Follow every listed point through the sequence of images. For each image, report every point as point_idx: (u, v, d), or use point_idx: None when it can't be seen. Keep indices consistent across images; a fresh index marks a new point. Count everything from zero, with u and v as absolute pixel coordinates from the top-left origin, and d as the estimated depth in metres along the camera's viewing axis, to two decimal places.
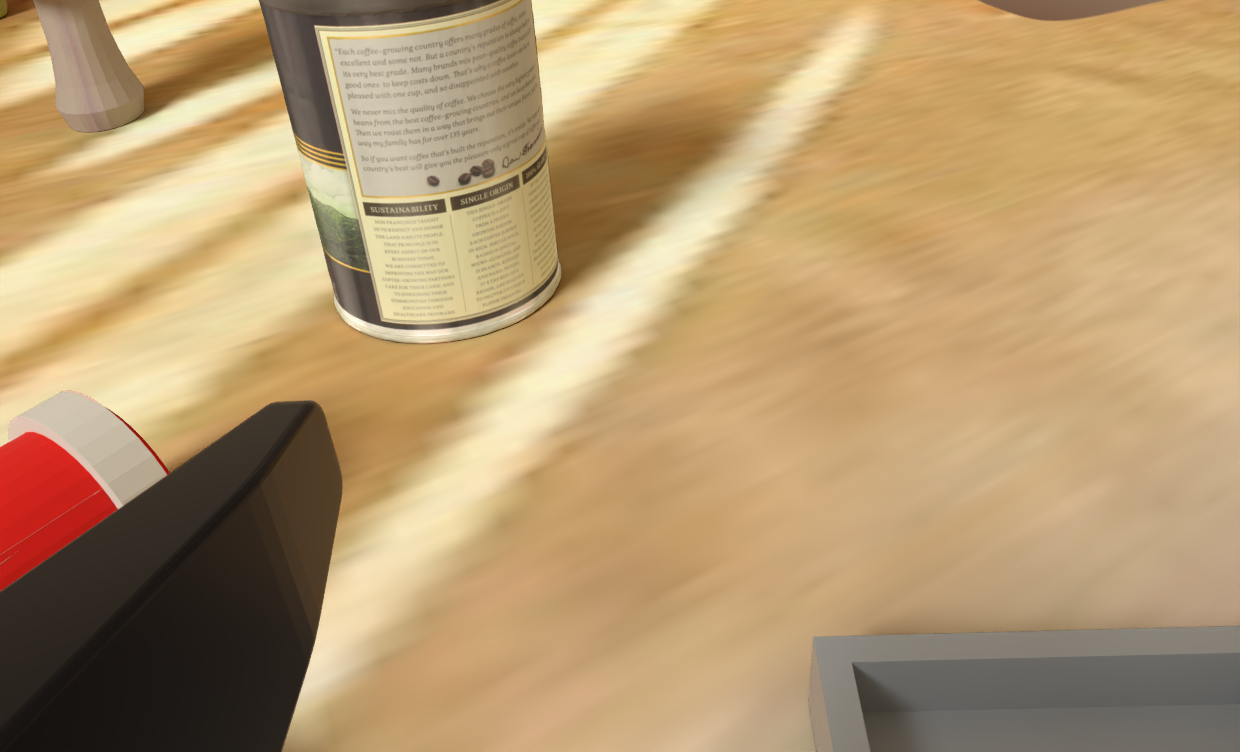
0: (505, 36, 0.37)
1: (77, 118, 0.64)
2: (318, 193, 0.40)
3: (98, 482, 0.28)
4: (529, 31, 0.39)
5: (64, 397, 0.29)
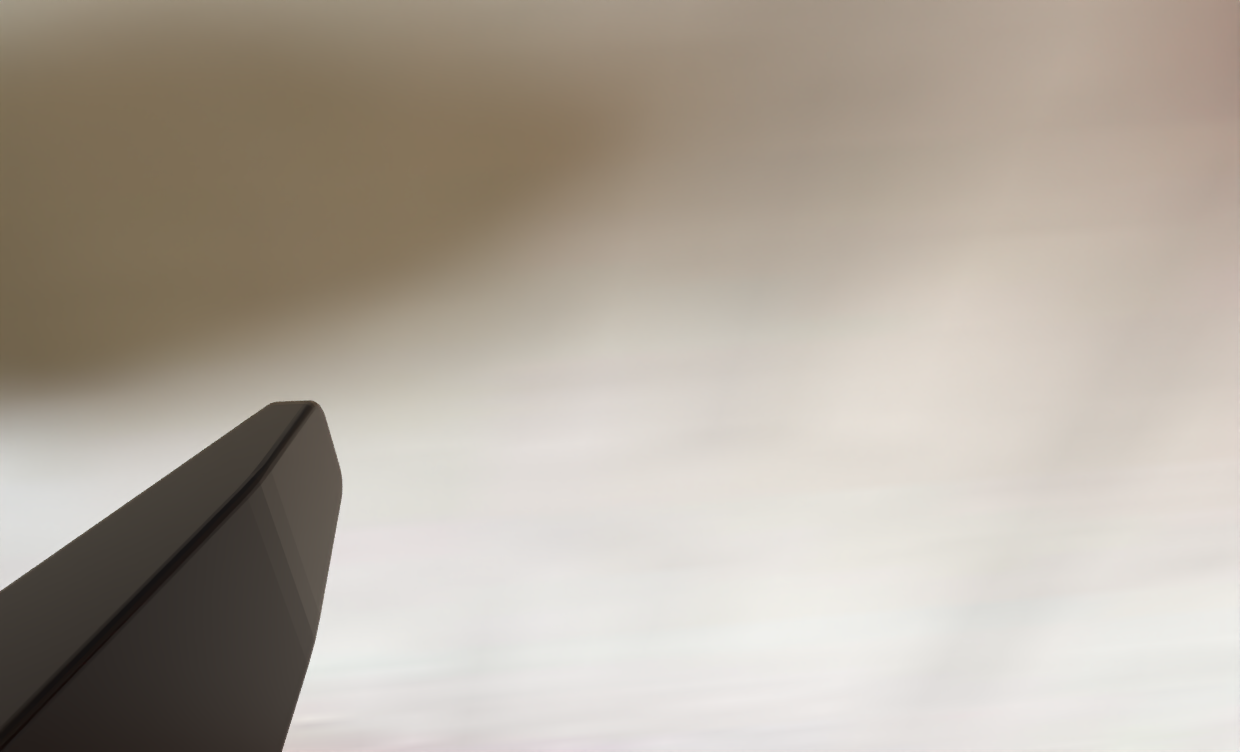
0: None
1: None
2: None
3: None
4: None
5: None
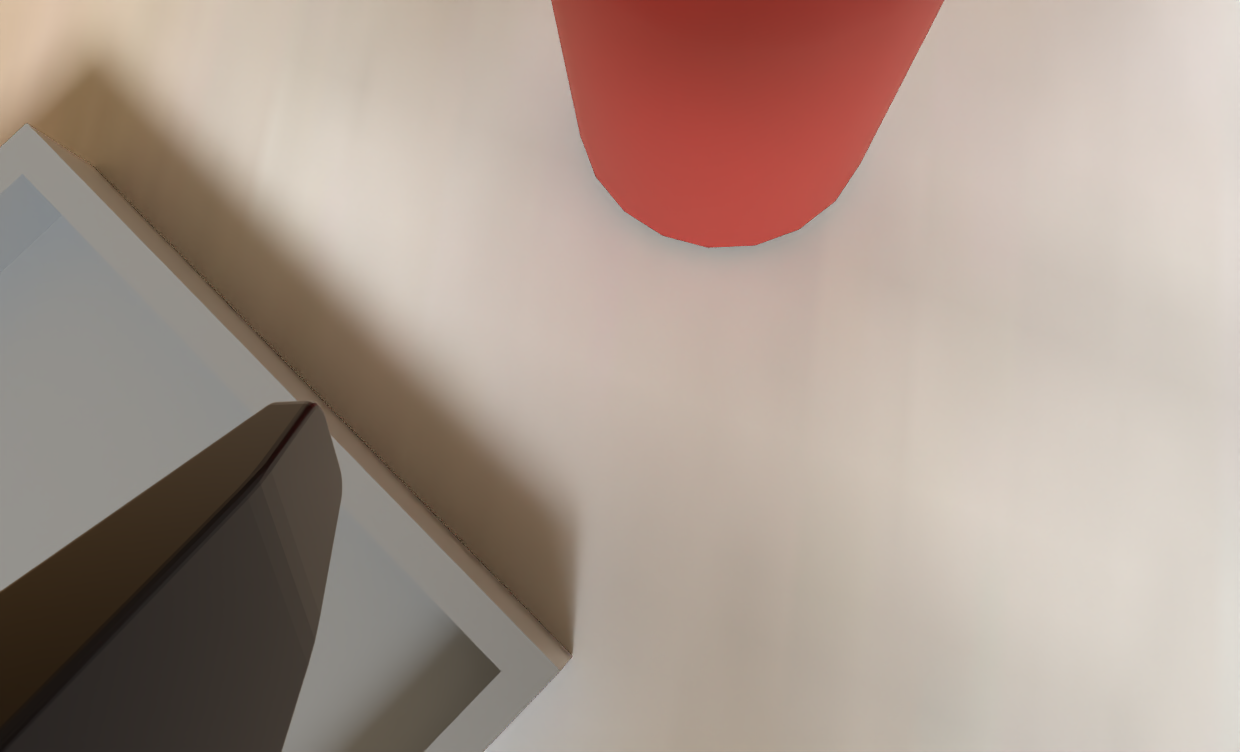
0: None
1: None
2: None
3: None
4: None
5: None
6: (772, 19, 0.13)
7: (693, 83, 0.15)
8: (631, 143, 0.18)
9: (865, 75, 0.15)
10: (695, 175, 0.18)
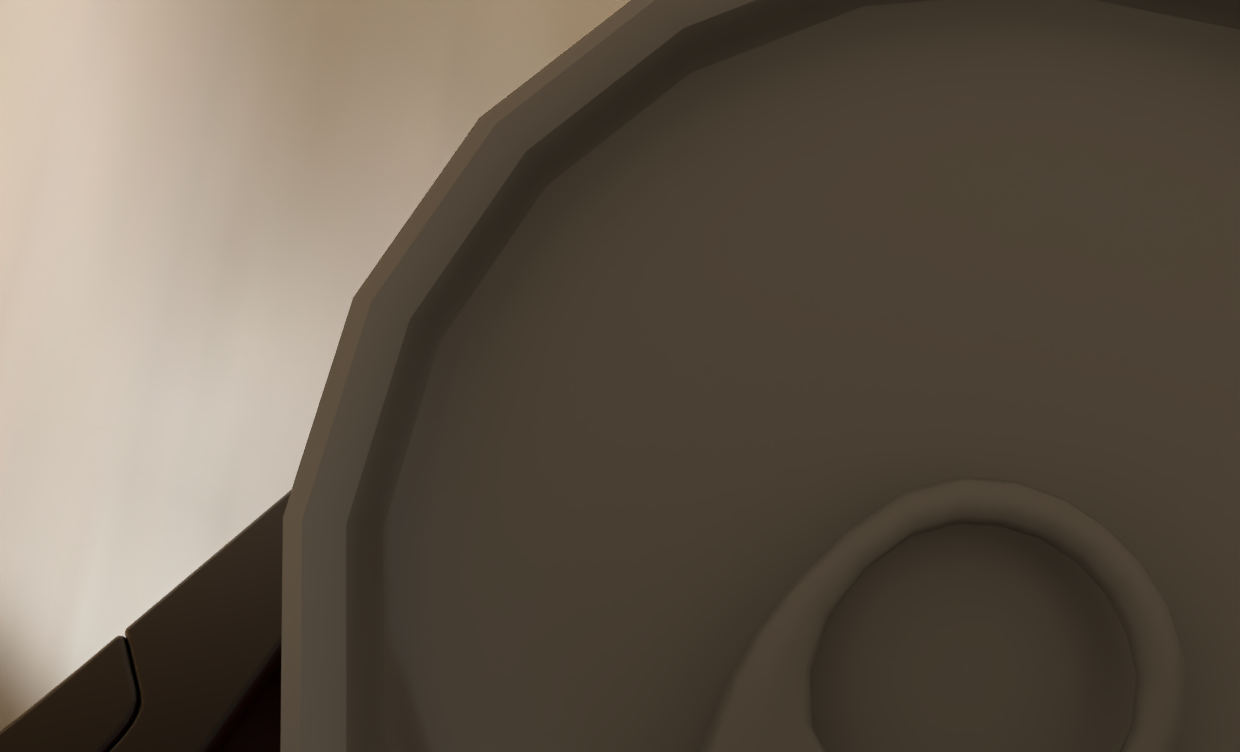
0: None
1: None
2: None
3: None
4: None
5: None
6: None
7: None
8: None
9: None
10: None
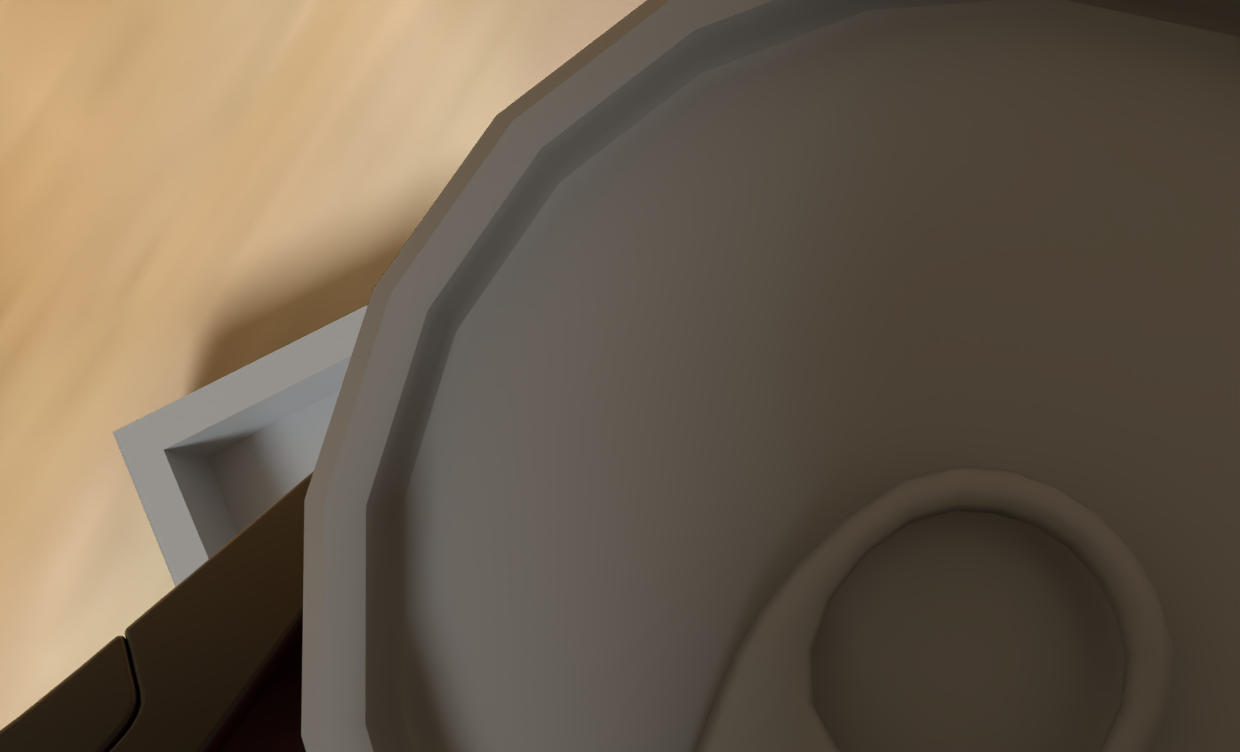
0: None
1: None
2: None
3: None
4: None
5: None
6: None
7: None
8: None
9: None
10: None
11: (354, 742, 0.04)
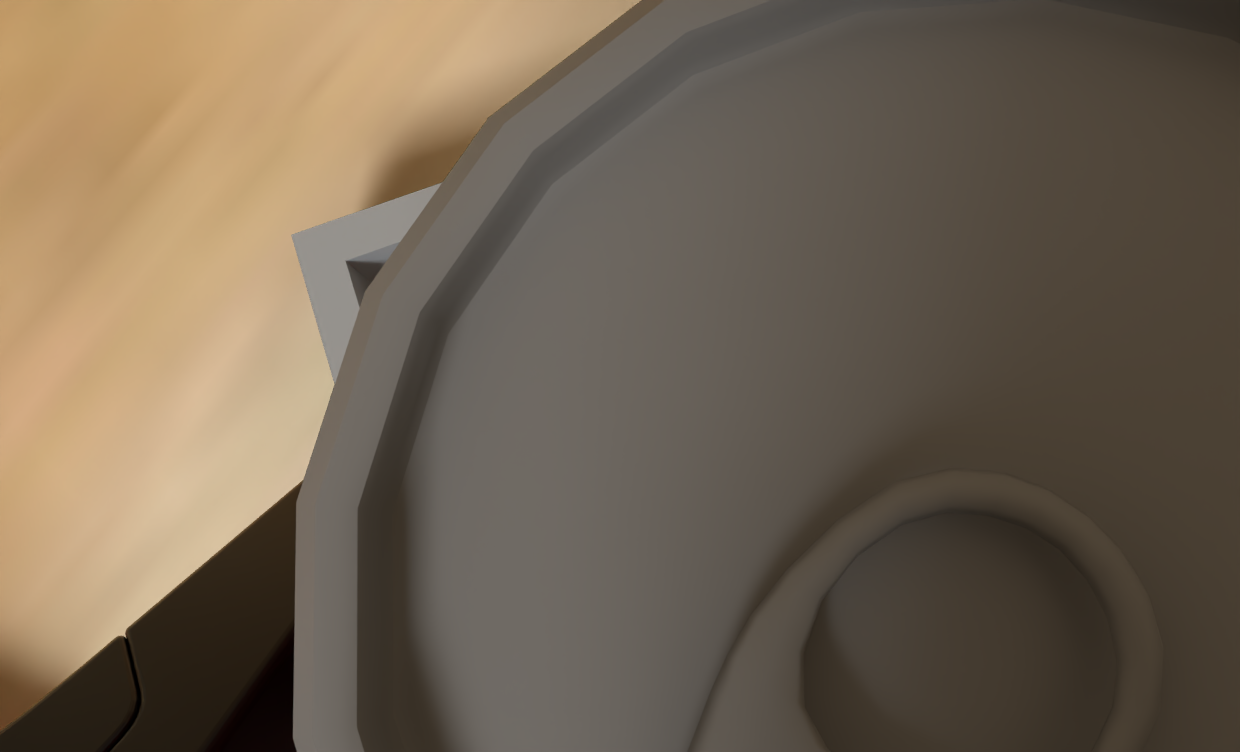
0: None
1: None
2: None
3: None
4: None
5: None
6: None
7: None
8: None
9: None
10: None
11: (345, 744, 0.04)
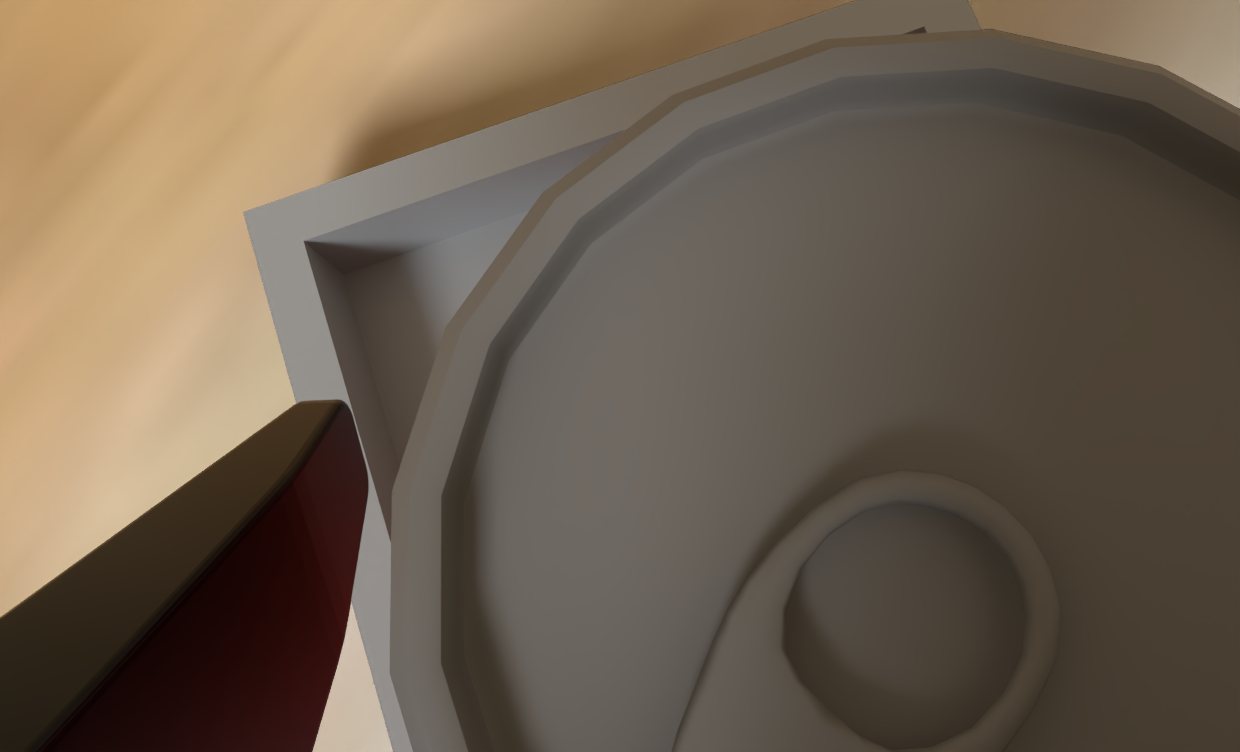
0: None
1: None
2: None
3: None
4: None
5: None
6: None
7: None
8: None
9: None
10: None
11: (432, 676, 0.05)
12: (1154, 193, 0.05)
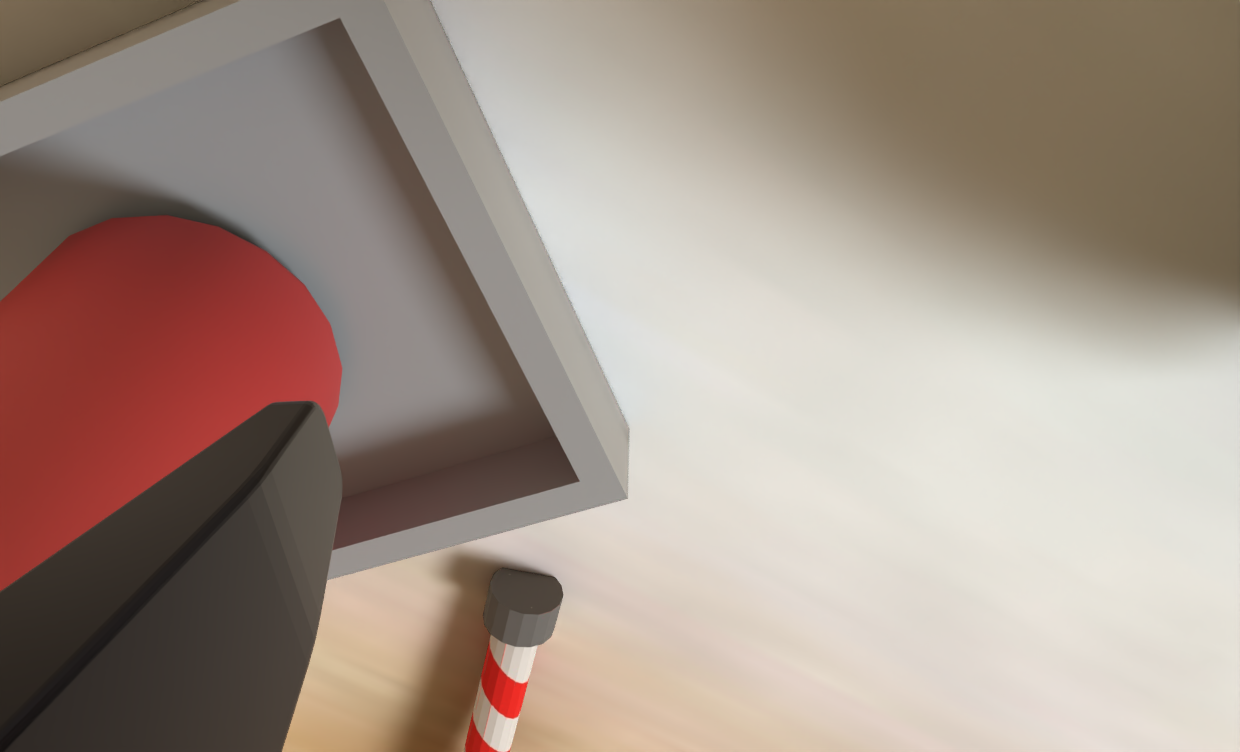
0: None
1: None
2: None
3: None
4: None
5: None
6: None
7: None
8: None
9: None
10: None
11: None
12: None
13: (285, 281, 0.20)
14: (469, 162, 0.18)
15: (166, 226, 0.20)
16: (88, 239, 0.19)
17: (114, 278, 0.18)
